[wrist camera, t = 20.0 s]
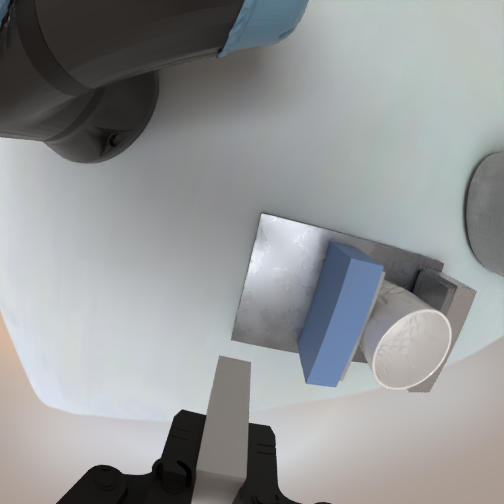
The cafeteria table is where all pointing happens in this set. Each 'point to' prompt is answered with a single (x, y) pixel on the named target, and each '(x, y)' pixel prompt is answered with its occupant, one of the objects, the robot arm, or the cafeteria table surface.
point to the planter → (487, 213)
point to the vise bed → (303, 279)
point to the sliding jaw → (338, 313)
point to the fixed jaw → (443, 309)
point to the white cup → (404, 338)
